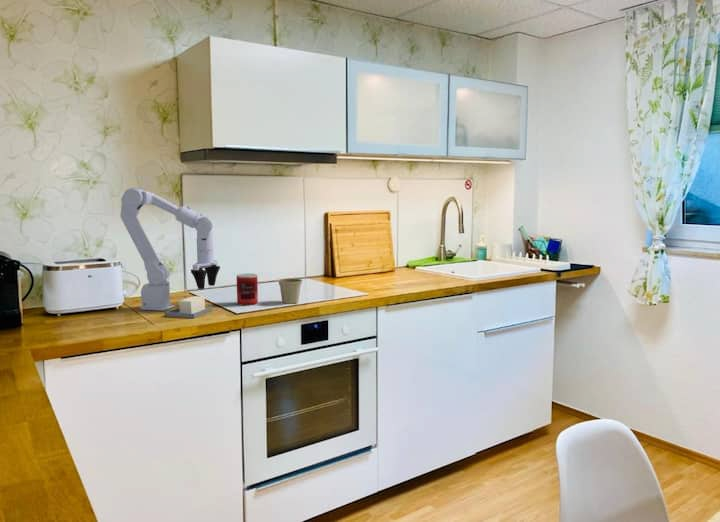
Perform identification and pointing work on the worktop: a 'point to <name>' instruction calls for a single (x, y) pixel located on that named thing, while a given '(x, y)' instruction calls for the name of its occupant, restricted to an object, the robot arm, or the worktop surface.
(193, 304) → the cream block
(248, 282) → the canned food
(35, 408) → the worktop surface
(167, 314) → the tray
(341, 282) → the worktop surface
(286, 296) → the flower pot
